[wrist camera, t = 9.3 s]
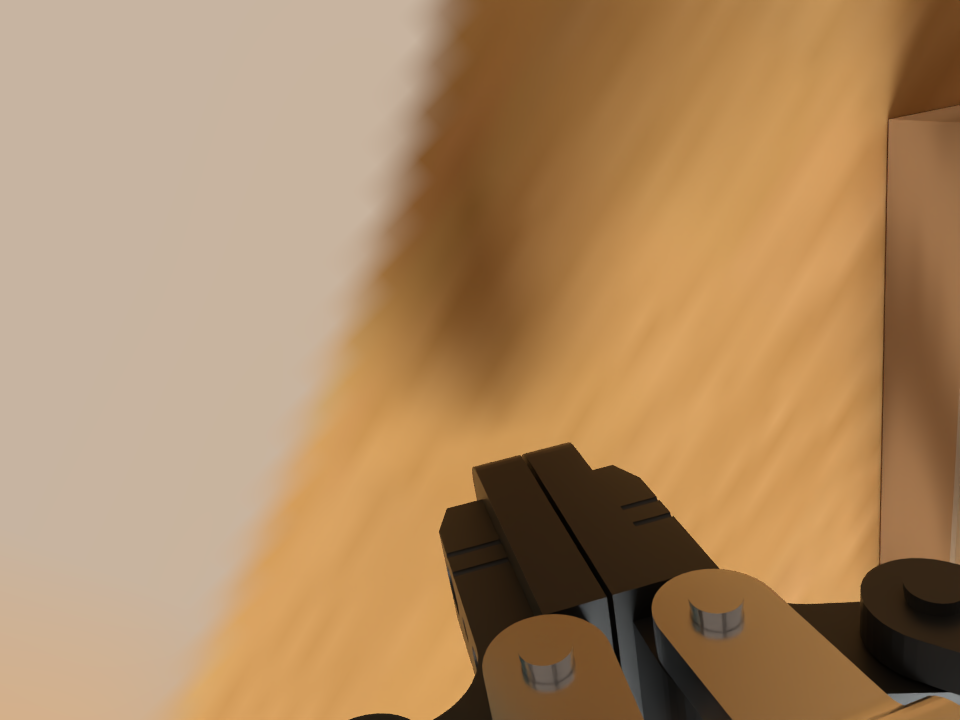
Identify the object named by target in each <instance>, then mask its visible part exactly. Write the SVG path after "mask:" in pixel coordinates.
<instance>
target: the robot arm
mask: <svg viewBox="0 0 960 720" xmlns="http://www.w3.org/2000/svg"><path fill="white" fill-rule="evenodd" d="M472 474H473V481H474V487H475V492H476V497H477V501H474V502H470V503H466V504H463V505H459V506H455V507H451V508H447V510H446V513H445V516H444V519H443V522H442V524H441V527H440V530H439V534H440V538H441V543H442V548H443V552H444V557H445V562H446V566H447V571H448V576H449V580H450V585H451V590H452V594H453V599H454V604H455V608H456V613H457V617H458V621H459V624H460V627H461V631H462V634H463V637H464V641H465V643H466V647H467V650H468V654H469V657H470V660H471V663H472V666H473V670H474V673H475V677H474V679H473V682H472V684H471V685H470V687H469V689H468V690H467V692H466V693H465V694H464V695H463V696H462V698H461V699H460V700H459V701H458V702H457V703H456V704H455V705H453V706H452V707H451V708H450V709H449V710H447V711H446V712H444V713H443V714H442V715H440V716H439V717H437V718H435V719H434V720H960V565H959V564H955V563H951V562H946V561H941V560H936V559H927V558H906V559H898V560H893V561H889V562H886V563H883V564H880V565H879V566H877V567H875V568H873V569H872V570H871V571H869V572H868V573H867V574H866V576H865V577H864V579H863V581H862V584H861V600H860V602H847V603H824V604H791V603H786V602H785V601H784V600H783V599H782V598H781V597H780V596H779V595H778V594H777V593H775V592H774V591H773V590H772V589H771V588H770V587H768V586H767V585H766V584H765V583H763V582H761V581H760V580H758V579H756V578H754V577H752V576H749V575H747V574H744V573H740V572H736V571H731V570H725V569H719V568H718V567H717V565H716V564H715V563H714V562H713V561H712V560H711V559H710V557H709V556H708V555H707V554H706V553H705V552H704V551H703V549H702V548H701V547H700V546H699V545H698V544H697V543H696V541H695V540H694V539H693V538H692V537H691V536H690V535H689V533H688V532H687V531H686V530H685V529H684V528H683V527H682V525H681V524H680V523H679V522H678V521H677V520H676V519H675V517H674V516H673V517H671V514H670V512H669V510H668V509H667V508H666V507H665V506H664V505H663V504H662V502H661V501H660V500H659V501H658V500H657V497H656V496H655V494H654V493H653V492H652V491H651V490H650V489H649V488H648V486H647V485H646V484H645V483H644V482H643V481H642V480H641V478H639V477H637V476H635V475H633V474H631V473H629V472H626V471H624V470H622V469H620V468H618V467H616V466H614V465H611V466H607V467H603V468H599V469H596V470H592V469H591V468H590V466H589V465H588V464H587V463H586V461H585V460H584V459H583V457H582V456H581V455H580V453H579V452H578V451H577V450H576V448H575V447H574V446H573V445H572V444H571V443H565V444H561V445H557V446H553V447H549V448H545V449H541V450H537V451H533V452H529V453H526V454H523V455H522V457H521V456H520V455H518V456H514V457H511V458H507V459H503V460H499V461H495V462H491V463H487V464H483V465H479V466H475V467H473V468H472ZM350 720H410V719H407V718H405V717H402V716H399V715H393V714H379V713H377V714H369V715H363V716H360V717H356V718H353V719H350Z"/></svg>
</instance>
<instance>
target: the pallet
mask: <svg viewBox="0 0 960 720" xmlns="http://www.w3.org/2000/svg"><path fill="white" fill-rule="evenodd" d="M906 558H927V559H936V560H941V561H946V562H951V563H955V564H959V565H960V105H957V106H952V107H947V108H942V109H937V110H933V111H928V112H923V113H918V114H913V115H908V116H903V117H898V118H893V119H889V133H888V184H887V236H886V288H885V340H884V391H883V443H882V495H881V547H880V564H883V563H886V562H889V561H893V560H898V559H906Z"/></svg>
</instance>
